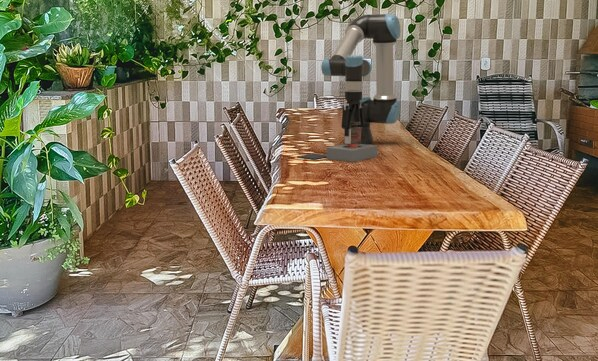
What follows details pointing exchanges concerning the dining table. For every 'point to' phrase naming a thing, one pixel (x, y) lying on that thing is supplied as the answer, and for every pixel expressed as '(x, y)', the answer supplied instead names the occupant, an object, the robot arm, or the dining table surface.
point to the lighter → (354, 133)
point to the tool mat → (313, 156)
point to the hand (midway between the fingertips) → (352, 142)
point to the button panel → (352, 152)
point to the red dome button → (353, 146)
